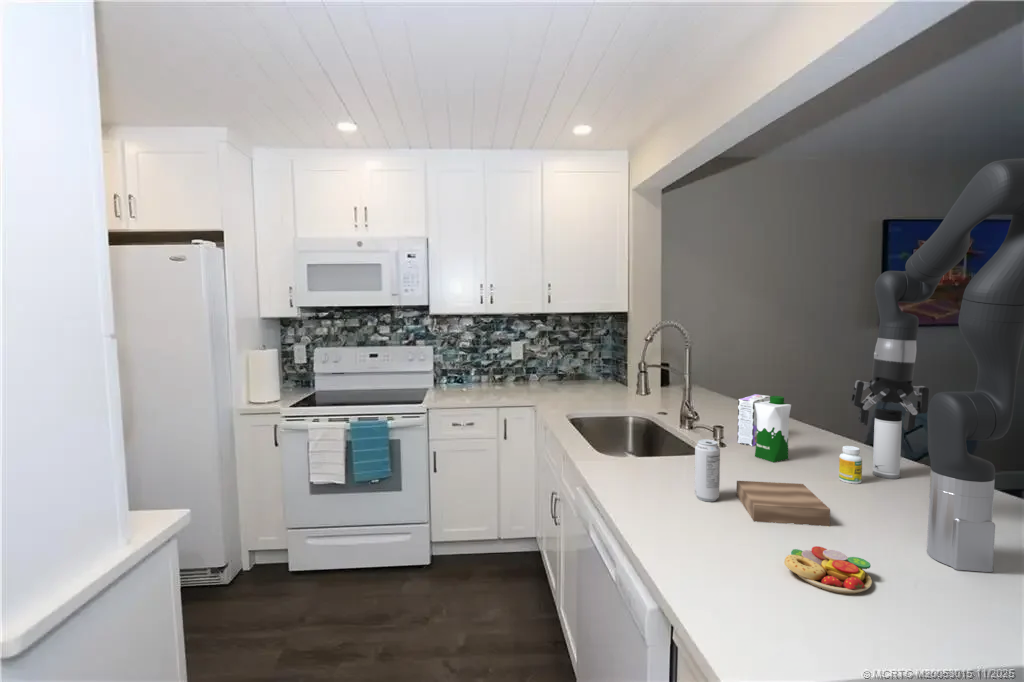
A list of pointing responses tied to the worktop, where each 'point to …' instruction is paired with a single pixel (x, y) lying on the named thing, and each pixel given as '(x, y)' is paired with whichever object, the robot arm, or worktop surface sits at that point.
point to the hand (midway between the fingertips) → (885, 427)
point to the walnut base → (782, 503)
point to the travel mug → (887, 443)
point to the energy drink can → (707, 470)
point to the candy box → (748, 418)
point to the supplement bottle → (850, 465)
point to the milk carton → (772, 429)
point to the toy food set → (830, 570)
